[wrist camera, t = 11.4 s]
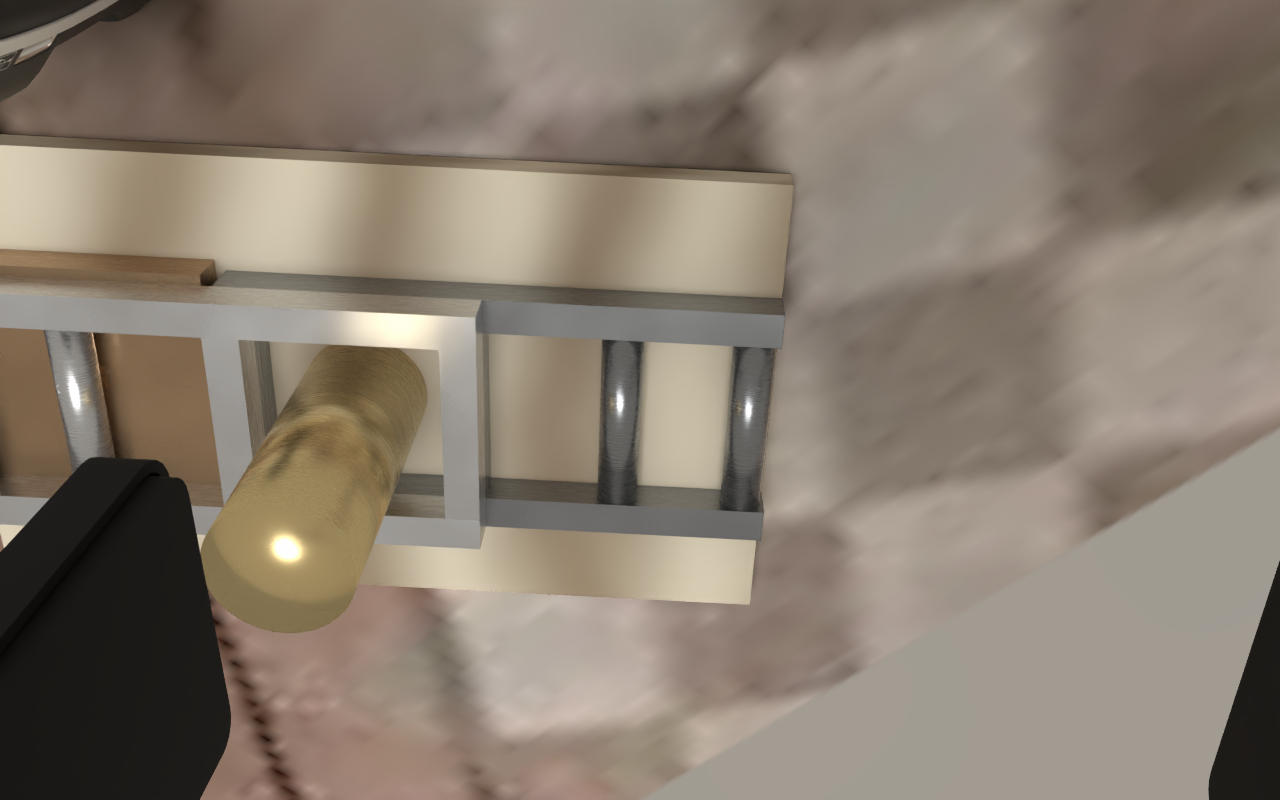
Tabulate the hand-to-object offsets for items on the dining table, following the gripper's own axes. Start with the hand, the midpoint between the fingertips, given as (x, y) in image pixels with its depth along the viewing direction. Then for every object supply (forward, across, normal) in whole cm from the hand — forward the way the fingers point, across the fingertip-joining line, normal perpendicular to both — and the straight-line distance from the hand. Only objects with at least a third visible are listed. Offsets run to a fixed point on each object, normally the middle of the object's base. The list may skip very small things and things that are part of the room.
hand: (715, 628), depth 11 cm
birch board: (+24, +10, +10) cm, 28 cm away
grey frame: (+23, +6, +10) cm, 26 cm away
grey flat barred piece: (+23, +14, +10) cm, 29 cm away
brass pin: (+23, +10, +10) cm, 27 cm away
